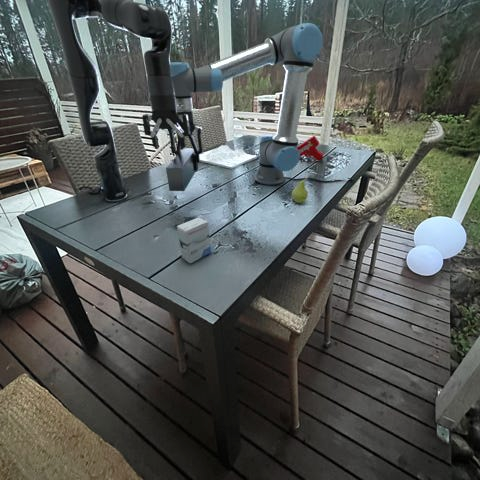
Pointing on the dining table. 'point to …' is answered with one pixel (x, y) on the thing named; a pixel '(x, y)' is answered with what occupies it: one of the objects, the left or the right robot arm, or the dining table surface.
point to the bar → (181, 170)
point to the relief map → (226, 157)
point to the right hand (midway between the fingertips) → (189, 169)
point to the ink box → (194, 239)
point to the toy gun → (310, 148)
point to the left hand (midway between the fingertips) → (170, 148)
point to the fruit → (300, 192)
